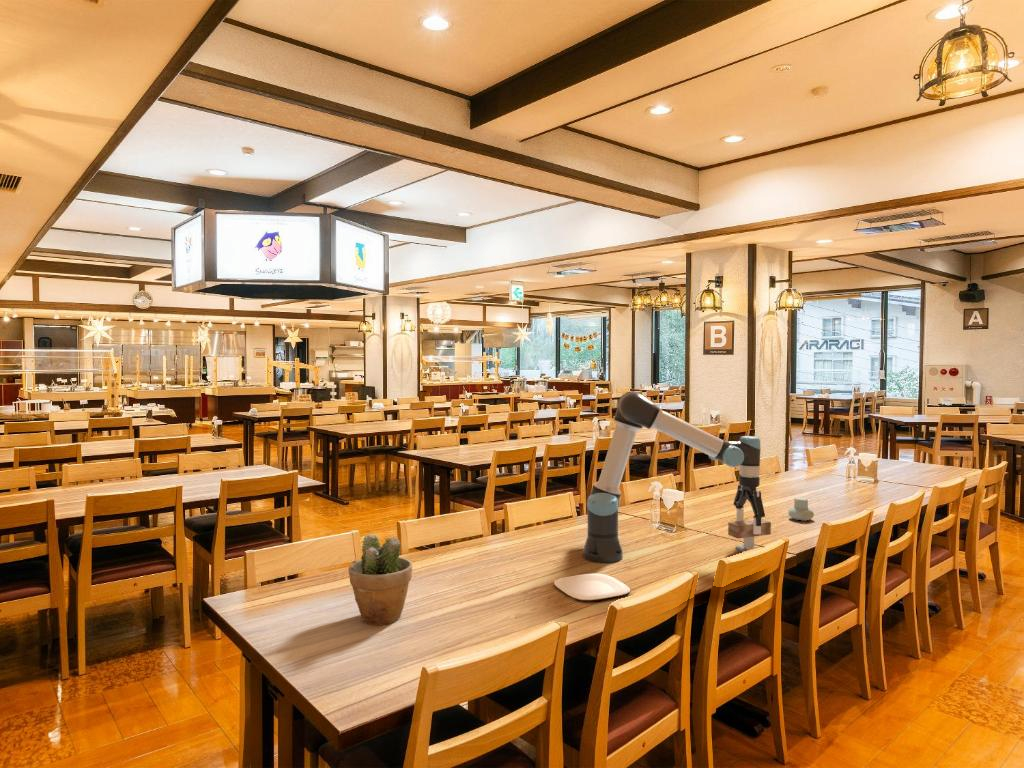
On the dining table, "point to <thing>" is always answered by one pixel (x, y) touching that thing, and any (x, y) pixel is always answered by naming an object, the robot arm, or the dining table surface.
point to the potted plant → (380, 581)
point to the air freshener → (801, 510)
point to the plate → (591, 587)
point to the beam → (747, 528)
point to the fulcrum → (746, 544)
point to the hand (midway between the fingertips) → (748, 529)
